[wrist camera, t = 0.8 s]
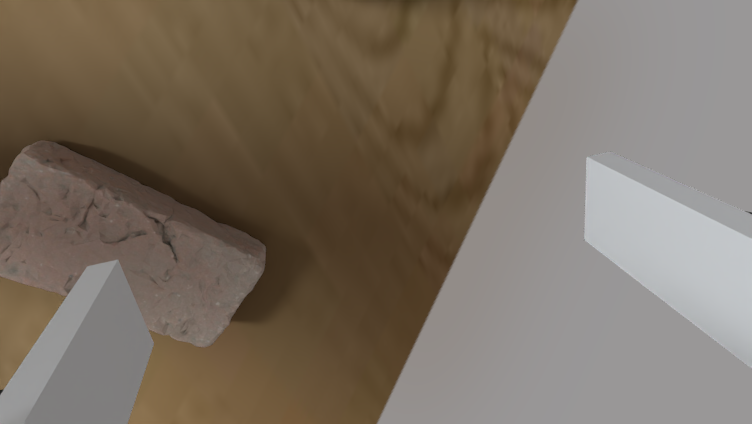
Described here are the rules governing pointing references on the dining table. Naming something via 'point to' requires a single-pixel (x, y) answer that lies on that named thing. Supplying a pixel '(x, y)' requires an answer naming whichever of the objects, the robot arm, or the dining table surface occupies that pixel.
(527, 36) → the dining table surface
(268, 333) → the dining table surface
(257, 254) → the brick
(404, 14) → the dining table surface
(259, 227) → the dining table surface
